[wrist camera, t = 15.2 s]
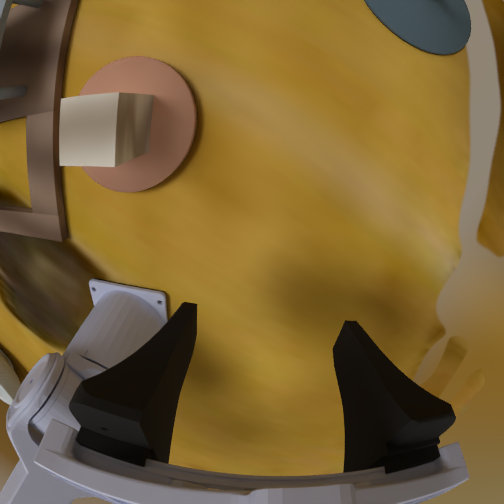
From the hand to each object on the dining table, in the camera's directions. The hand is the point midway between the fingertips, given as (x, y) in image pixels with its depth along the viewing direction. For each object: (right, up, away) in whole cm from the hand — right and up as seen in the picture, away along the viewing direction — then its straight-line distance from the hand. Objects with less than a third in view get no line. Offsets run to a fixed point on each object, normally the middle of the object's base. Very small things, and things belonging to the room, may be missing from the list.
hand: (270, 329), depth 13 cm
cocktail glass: (+12, +23, -2) cm, 26 cm away
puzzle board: (-24, +17, +3) cm, 29 cm away
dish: (-10, +13, +4) cm, 17 cm away
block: (-10, +12, +3) cm, 16 cm away
